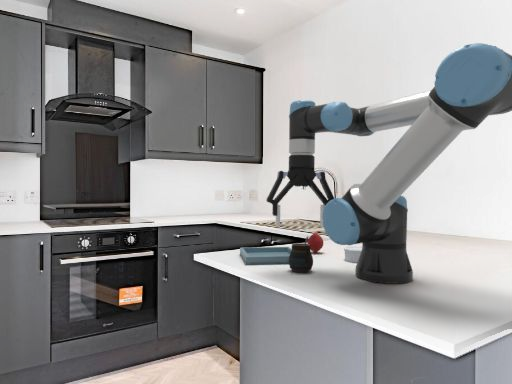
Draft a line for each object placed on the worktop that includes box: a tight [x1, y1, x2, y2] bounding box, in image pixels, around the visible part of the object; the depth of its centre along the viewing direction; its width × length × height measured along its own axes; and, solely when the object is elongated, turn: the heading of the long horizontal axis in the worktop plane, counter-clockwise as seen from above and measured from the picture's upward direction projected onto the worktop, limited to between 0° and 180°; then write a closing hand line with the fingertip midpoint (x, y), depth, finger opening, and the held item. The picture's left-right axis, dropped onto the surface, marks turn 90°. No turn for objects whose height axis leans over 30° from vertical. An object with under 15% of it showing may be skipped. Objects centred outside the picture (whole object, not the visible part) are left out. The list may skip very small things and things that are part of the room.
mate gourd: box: [288, 236, 314, 274], centre depth 116 cm, size 7×8×10 cm
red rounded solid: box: [306, 230, 324, 254], centre depth 146 cm, size 6×6×8 cm
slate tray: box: [239, 246, 292, 266], centre depth 134 cm, size 18×18×2 cm
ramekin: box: [343, 245, 362, 264], centre depth 133 cm, size 9×9×4 cm
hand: (300, 227), depth 116 cm, fingers open, 13 cm apart
